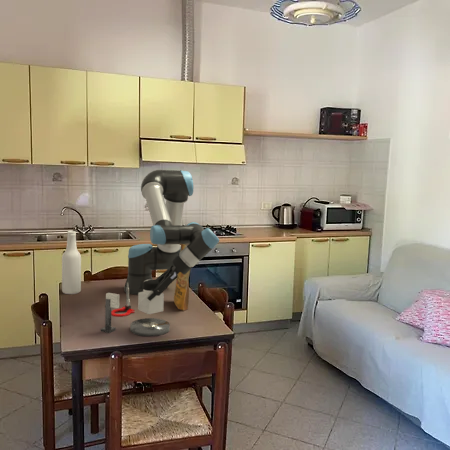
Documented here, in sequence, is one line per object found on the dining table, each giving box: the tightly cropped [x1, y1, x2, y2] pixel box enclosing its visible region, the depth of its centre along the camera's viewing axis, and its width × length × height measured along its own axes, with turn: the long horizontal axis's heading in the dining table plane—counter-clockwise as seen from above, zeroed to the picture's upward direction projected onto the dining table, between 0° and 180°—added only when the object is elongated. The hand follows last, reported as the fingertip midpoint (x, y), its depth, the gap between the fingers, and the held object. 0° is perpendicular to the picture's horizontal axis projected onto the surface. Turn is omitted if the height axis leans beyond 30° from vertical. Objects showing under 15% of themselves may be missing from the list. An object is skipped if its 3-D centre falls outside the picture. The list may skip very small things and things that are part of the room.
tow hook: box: [111, 283, 135, 318], centre depth 199 cm, size 8×13×9 cm
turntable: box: [129, 317, 171, 337], centre depth 182 cm, size 15×15×2 cm
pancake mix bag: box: [173, 244, 192, 311], centre depth 213 cm, size 7×19×28 cm, turn 17°
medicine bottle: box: [137, 278, 165, 315], centre depth 180 cm, size 7×7×12 cm
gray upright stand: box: [100, 292, 120, 334], centre depth 177 cm, size 4×6×14 cm, turn 67°
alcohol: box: [61, 230, 82, 295], centre depth 227 cm, size 9×9×30 cm
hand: (142, 300), depth 180 cm, fingers closed on medicine bottle, 10 cm apart
